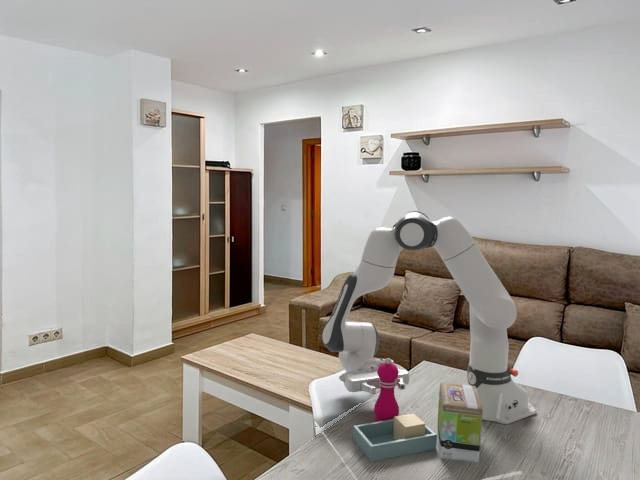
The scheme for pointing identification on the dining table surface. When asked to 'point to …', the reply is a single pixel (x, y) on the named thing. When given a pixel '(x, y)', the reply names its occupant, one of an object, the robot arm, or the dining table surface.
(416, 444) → the box
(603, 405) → the dining table surface
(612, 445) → the dining table surface
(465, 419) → the tea box
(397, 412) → the pepper mill
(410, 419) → the tan wooden cube
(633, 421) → the dining table surface
